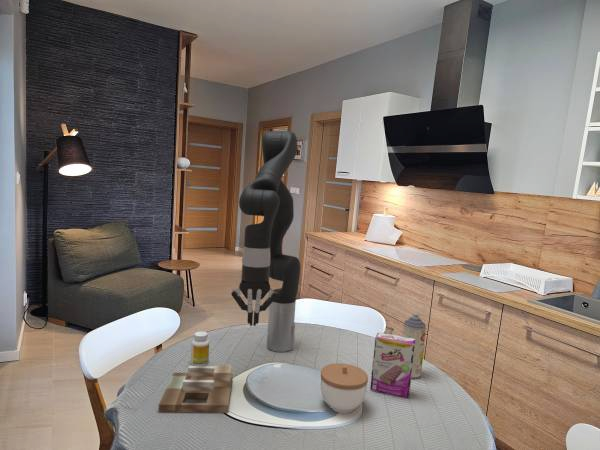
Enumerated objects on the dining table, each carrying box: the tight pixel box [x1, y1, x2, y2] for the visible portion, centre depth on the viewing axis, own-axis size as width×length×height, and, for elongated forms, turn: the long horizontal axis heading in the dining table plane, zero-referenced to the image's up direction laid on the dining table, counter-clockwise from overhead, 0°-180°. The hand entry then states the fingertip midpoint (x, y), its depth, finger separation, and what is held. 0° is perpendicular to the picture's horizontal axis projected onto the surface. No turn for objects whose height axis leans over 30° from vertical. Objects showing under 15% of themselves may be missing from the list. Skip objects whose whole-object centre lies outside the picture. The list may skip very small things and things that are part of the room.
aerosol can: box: [402, 312, 427, 380], centre depth 131 cm, size 7×7×20 cm
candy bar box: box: [369, 331, 416, 399], centre depth 120 cm, size 11×5×16 cm, turn 71°
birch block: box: [214, 364, 233, 387], centre depth 115 cm, size 4×4×4 cm
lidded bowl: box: [320, 362, 369, 414], centre depth 110 cm, size 13×13×11 cm
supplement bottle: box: [190, 331, 210, 366], centre depth 130 cm, size 5×5×10 cm
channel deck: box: [158, 365, 234, 414], centre depth 111 cm, size 17×17×4 cm
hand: (252, 324), depth 114 cm, fingers closed
